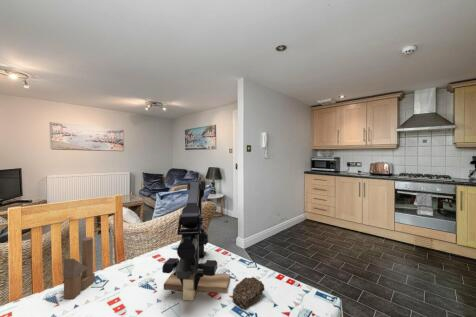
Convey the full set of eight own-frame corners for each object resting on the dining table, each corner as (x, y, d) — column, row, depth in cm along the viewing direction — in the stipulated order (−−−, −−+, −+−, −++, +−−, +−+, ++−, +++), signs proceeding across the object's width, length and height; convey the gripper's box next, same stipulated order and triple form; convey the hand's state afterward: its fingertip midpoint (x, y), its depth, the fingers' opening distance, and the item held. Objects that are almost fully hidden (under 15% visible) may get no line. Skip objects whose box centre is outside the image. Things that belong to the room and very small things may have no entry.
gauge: (195, 277, 86) (195, 260, 86) (203, 278, 85) (203, 260, 85) (183, 299, 72) (183, 279, 72) (192, 300, 71) (192, 280, 72)
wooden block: (63, 299, 72) (63, 247, 72) (86, 281, 83) (86, 236, 83) (73, 299, 72) (73, 247, 72) (95, 281, 83) (95, 236, 83)
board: (173, 275, 87) (173, 271, 87) (230, 279, 85) (230, 274, 85) (163, 289, 78) (163, 283, 78) (226, 293, 76) (226, 287, 76)
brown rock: (251, 284, 81) (251, 271, 81) (268, 299, 73) (268, 285, 73) (226, 295, 75) (226, 281, 75) (241, 312, 66) (241, 296, 66)
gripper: (154, 255, 67) (154, 303, 67) (210, 258, 65) (210, 308, 65) (169, 242, 78) (169, 283, 78) (217, 244, 76) (217, 286, 76)
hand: (190, 290), depth 74 cm, fingers closed on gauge, 3 cm apart
